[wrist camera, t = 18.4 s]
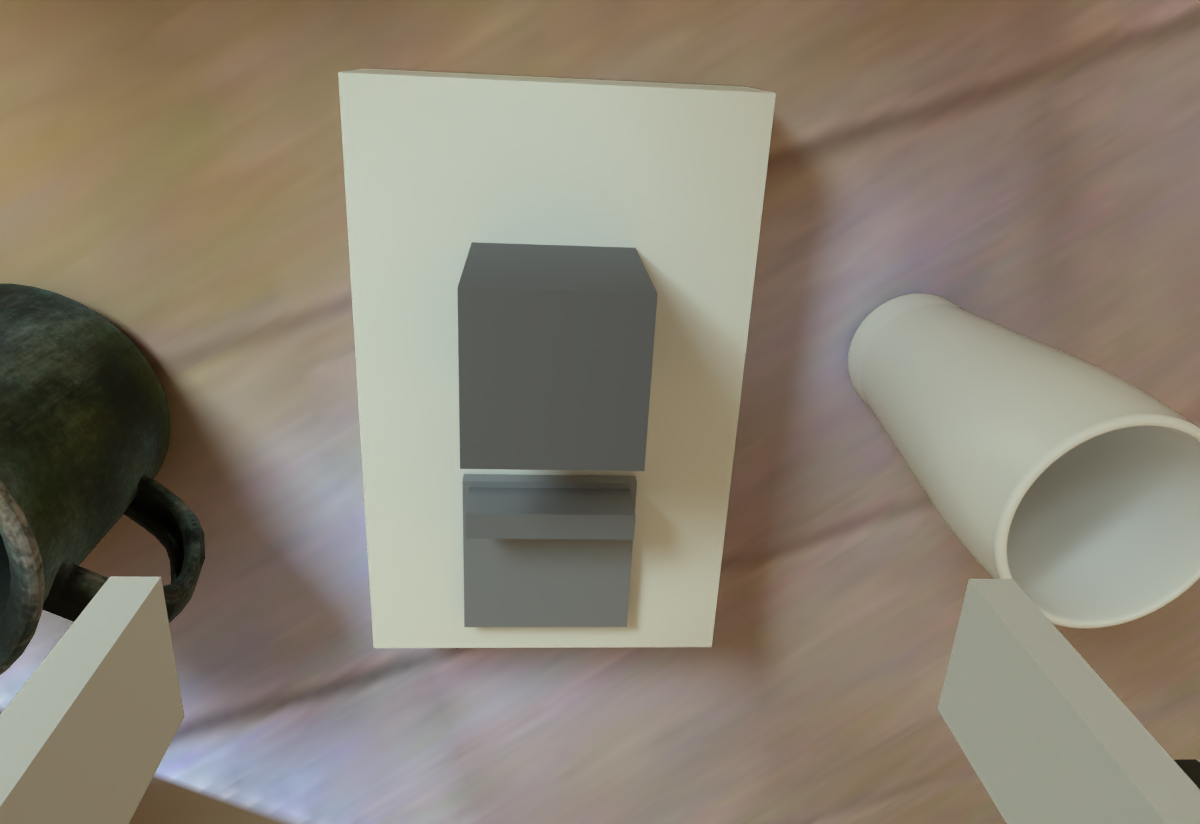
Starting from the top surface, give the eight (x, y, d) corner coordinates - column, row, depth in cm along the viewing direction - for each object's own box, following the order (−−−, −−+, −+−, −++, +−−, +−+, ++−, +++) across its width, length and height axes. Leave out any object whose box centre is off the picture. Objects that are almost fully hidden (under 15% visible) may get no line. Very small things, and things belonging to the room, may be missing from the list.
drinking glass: (1008, 292, 37) (1291, 441, 23) (946, 437, 39) (1169, 651, 26) (858, 255, 36) (1061, 389, 22) (804, 406, 38) (955, 612, 24)
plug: (478, 220, 34) (457, 287, 25) (624, 225, 34) (657, 293, 25) (479, 359, 36) (460, 469, 27) (616, 362, 36) (644, 471, 27)
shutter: (463, 473, 33) (458, 507, 31) (635, 475, 34) (643, 509, 31) (465, 618, 36) (460, 659, 33) (625, 618, 36) (631, 658, 34)
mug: (-60, 212, 33) (-361, 299, 22) (307, 395, 37) (208, 549, 26) (-141, 443, 36) (-439, 620, 25) (204, 590, 40) (77, 800, 29)
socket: (363, 68, 32) (338, 72, 28) (745, 86, 33) (775, 92, 29) (390, 586, 40) (373, 648, 36) (694, 586, 41) (711, 647, 37)
